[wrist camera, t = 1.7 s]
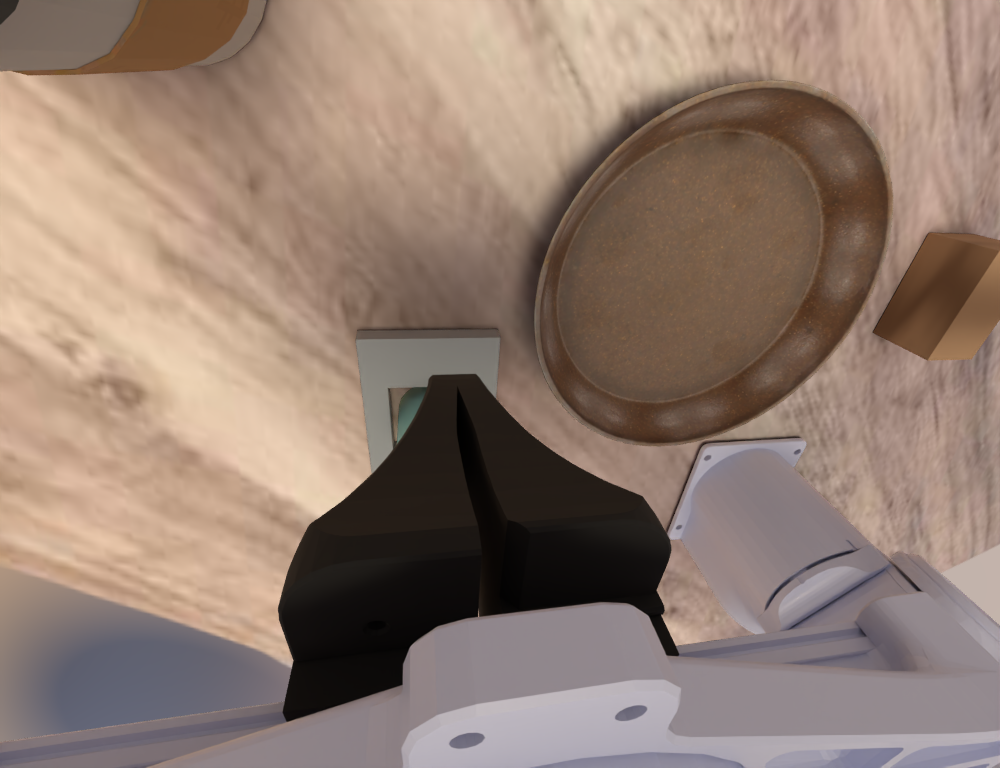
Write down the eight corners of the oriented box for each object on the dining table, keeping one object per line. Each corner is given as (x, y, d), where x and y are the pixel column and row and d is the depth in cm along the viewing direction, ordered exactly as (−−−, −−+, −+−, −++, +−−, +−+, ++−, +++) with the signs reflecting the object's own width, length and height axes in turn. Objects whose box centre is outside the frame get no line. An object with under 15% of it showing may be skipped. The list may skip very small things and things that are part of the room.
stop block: (913, 332, 28) (971, 359, 25) (873, 332, 27) (927, 360, 24) (973, 234, 25) (1048, 252, 22) (929, 232, 24) (999, 250, 21)
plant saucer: (699, -29, 17) (750, -52, 14) (903, 229, 24) (960, 244, 22) (456, 337, 23) (461, 366, 21) (674, 452, 31) (698, 483, 28)
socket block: (487, 471, 28) (490, 482, 28) (375, 478, 27) (373, 490, 26) (497, 329, 23) (500, 337, 22) (357, 330, 22) (355, 339, 21)
